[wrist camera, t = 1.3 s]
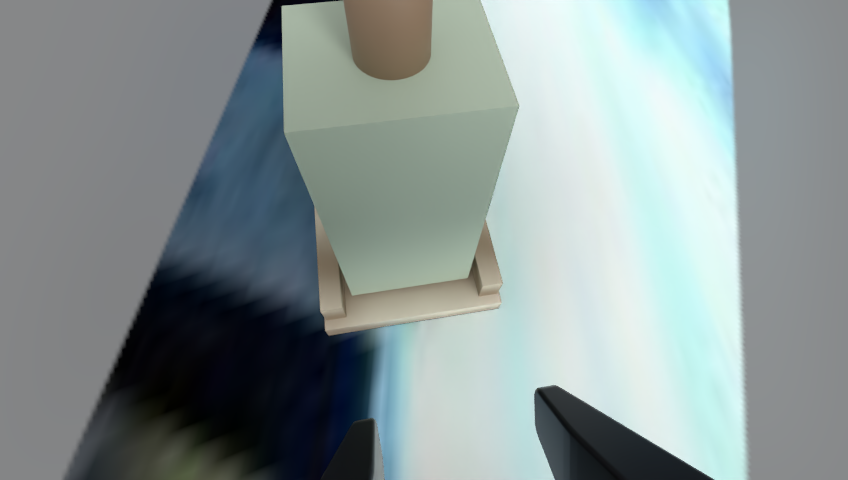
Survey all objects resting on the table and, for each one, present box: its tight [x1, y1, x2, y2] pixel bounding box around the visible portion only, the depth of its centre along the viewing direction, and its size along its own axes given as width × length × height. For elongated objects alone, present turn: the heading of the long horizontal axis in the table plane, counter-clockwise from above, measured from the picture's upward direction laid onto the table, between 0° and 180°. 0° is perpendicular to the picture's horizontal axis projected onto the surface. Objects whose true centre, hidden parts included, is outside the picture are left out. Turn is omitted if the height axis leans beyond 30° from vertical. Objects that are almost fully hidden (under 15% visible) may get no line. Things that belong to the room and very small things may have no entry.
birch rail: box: [314, 206, 503, 335], centre depth 24 cm, size 17×9×2 cm, turn 10°
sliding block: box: [282, 0, 519, 296], centre depth 15 cm, size 5×6×15 cm
